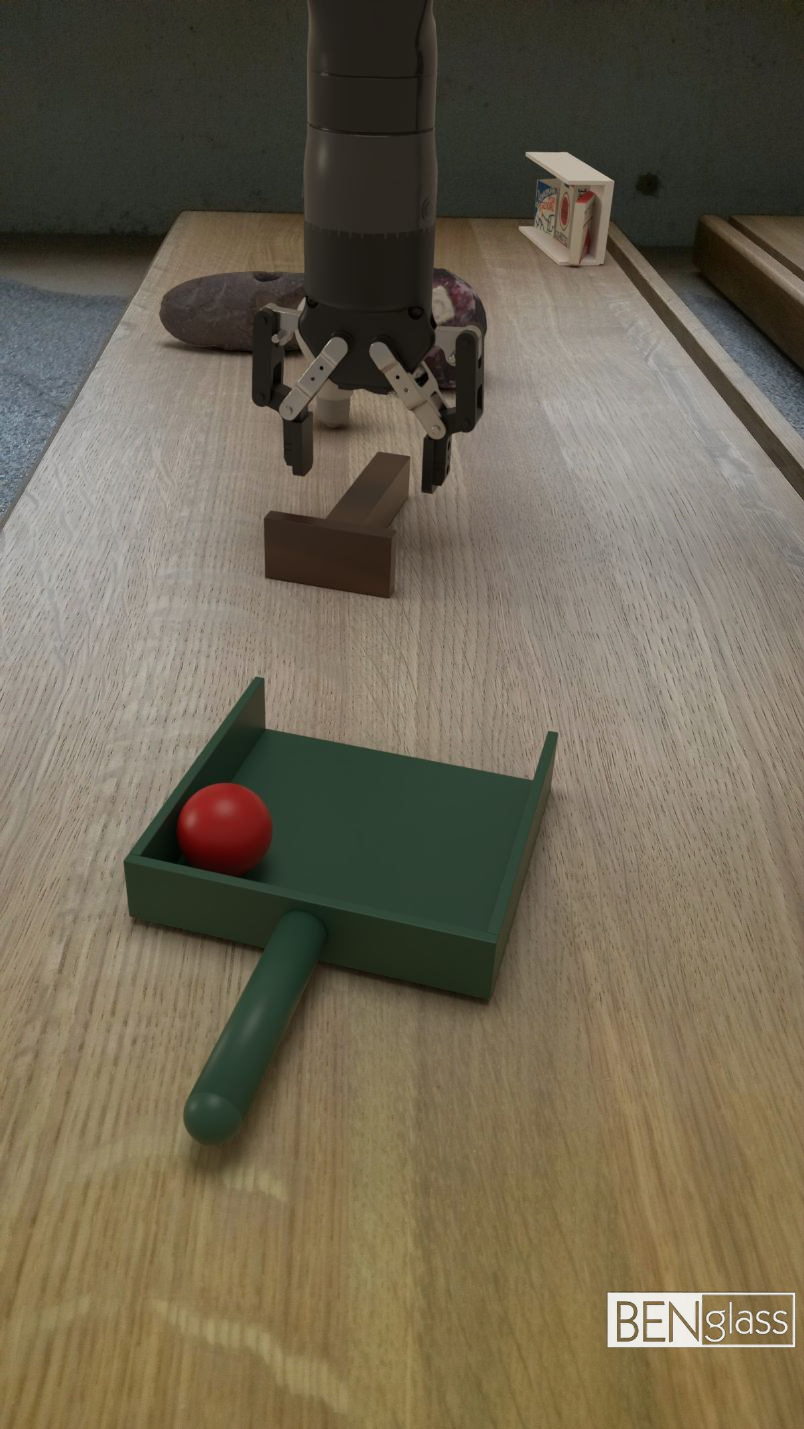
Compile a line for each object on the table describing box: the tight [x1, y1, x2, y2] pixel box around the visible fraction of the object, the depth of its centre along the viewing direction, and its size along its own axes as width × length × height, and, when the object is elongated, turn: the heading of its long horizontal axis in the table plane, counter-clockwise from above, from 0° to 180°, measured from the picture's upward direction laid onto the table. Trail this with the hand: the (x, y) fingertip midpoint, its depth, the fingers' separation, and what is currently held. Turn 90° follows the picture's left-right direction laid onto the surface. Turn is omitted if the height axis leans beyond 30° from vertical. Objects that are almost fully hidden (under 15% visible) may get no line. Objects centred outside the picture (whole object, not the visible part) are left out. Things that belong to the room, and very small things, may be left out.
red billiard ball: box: [177, 783, 273, 877], centre depth 51 cm, size 4×4×4 cm
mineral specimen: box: [424, 267, 488, 389], centre depth 105 cm, size 10×10×10 cm
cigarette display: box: [518, 151, 615, 267], centre depth 149 cm, size 20×6×9 cm, turn 10°
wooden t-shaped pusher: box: [263, 451, 411, 599], centre depth 79 cm, size 15×8×4 cm, turn 165°
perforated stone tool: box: [158, 270, 305, 352], centre depth 111 cm, size 15×5×7 cm, turn 88°
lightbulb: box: [294, 298, 355, 428], centre depth 94 cm, size 6×6×11 cm
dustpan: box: [123, 676, 559, 1147], centre depth 49 cm, size 24×15×3 cm, turn 165°
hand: (365, 480), depth 78 cm, fingers open, 8 cm apart
